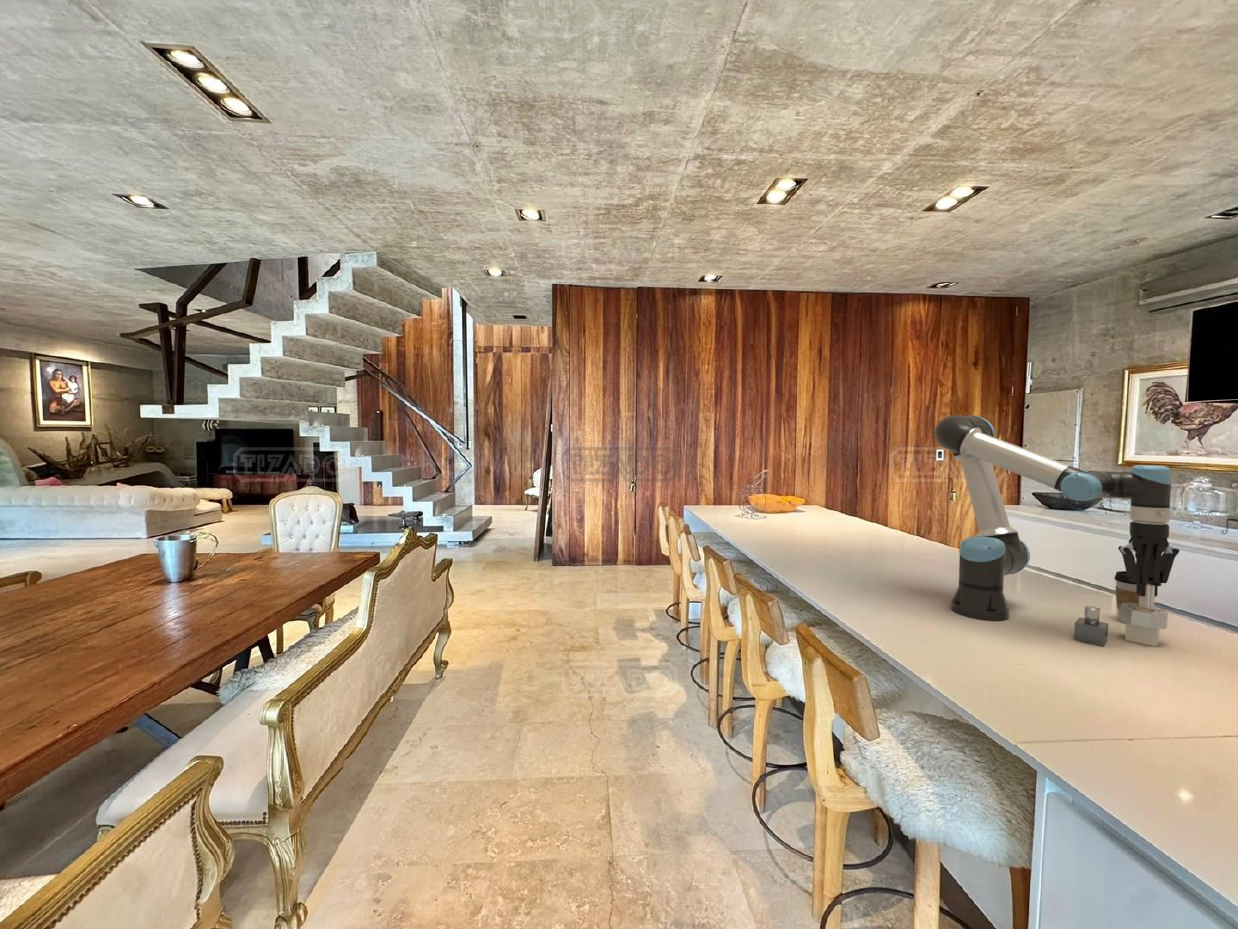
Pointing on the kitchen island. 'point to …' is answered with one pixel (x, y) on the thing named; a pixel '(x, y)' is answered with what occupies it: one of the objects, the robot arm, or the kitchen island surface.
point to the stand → (1091, 628)
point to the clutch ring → (1143, 616)
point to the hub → (1142, 633)
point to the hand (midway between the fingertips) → (1146, 607)
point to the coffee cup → (1125, 590)
